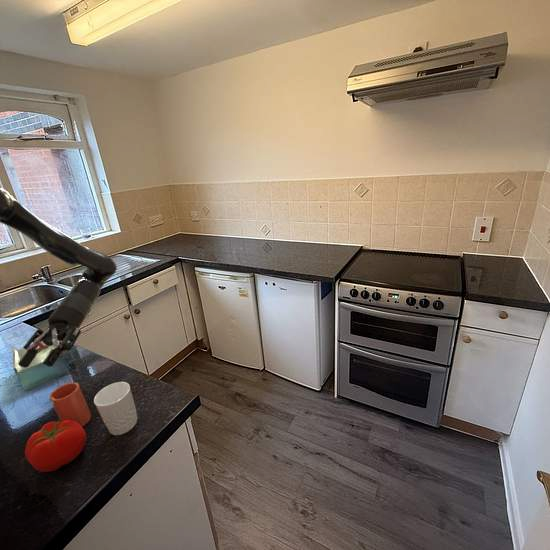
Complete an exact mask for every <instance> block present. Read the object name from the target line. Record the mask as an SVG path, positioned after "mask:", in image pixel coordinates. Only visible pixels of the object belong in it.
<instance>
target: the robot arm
mask: <svg viewBox="0 0 550 550" xmlns="http://www.w3.org/2000/svg"><path fill="white" fill-rule="evenodd" d="M0 223H1V224H3V225H5V226H8V227H10V228H11V229H14V230H16V231H17V232H18V233H21V234H23V235H24V236H25V237H27V238H28V239H30V241H32V242H34V243H35V244H36V245H38V246H39V247H40V248H41V249H42V250H44V251H45V252H47V253H48V254H50V255H52V256H53V257H55V258H56V259H58V260H60V261H61V262H63V263H65V264H67V265H69V266H71V267H77V266H83V267H85V270H83V272H82V274H81V276H80V277H79V279H78V280H77V282H76V283H75V284H74V285H73V287H72V288H71V289H70V291H69V292H68V293H67V294H66V295H65V296H64V297H63V299H62V300H61V301H60V302H59V303H58V305H57V306H56V307H55V309H54V310H53V312H52V313H51V314H50V315H49V317H48V319H47V322H48V327H47V328H46V329H44V330H42V329H41V328H38V329H36V331H35V332H34V333H33V334H32V336H31V337H30V338H29V339H28V341H26V343H25V344H24V345H23V347H22V348H24V349H26V350H27V352H26V354H25V355H24V356H23V358H22V359H21V360H20V362H19V363H18V364H19V365H20V366H22V367H24V368H26V367H28V366H29V365H30V363H31V362H32V361H33V359H34V358H35V356H36V354H37V353H39V352H40V351H41V350H43V349H46V348H48V347H49V346H52V345H53V348H54V349H52V350H51V351H50V353H49V354H48V356H47V357H46V358H45V360H44V361H43V364H45V365H46V366H48V367H51V366H53V364H54V363H55V362H56V360H57V358H58V357H59V356H60V354H61V353H63V352H64V353H65V351H69V352H70V351H71V350H72V348H73V347H74V345H75V344H76V342H77V340H78V338H79V336H80V335H81V333H82V330H81V329H79V328H81V326H82V324H83V323H84V321H85V319H86V318H87V316H89V315H88V314H89V313H90V311H91V309H92V307H93V305H94V304H95V302H96V300H97V299H98V298H99V296H100V294H101V290H102V288H103V286H104V285H105V284H106V282H107V281H108V280H109V279H110V278H112V277H113V276H114V275H115V274H116V272H117V270H118V267H117V263H116V262H115V260H113V258H112V257H110V256H109V255H107V254H104V253H103V252H100V251H97V250H95V249H92V248H89V247H86V246H84V245H83V244H81V243H80V242H78V241H76V240H75V239H73V238H72V237H70V236H68V235H67V234H65V233H63V232H62V231H60V230H59V229H57V228H56V227H54V226H51V225H50V224H48V223H47V222H46V221H44V220H42V219H41V218H39V217H38V216H36V215H35V214H34V213H32V212H31V211H29V210H28V209H27V208H26V207H25V206H24V205H22V204H21V203H20V202H19V201H18V200H16V199H15V198H14V197H13V196H12V195H10V193H9V192H8V191H6V190H5V189H3V188H1V187H0ZM68 341H69V343H68ZM42 342H43V343H44V344H43V343H42ZM38 346H39V348H38V349H37V347H38ZM64 353H63V354H64Z"/></svg>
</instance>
